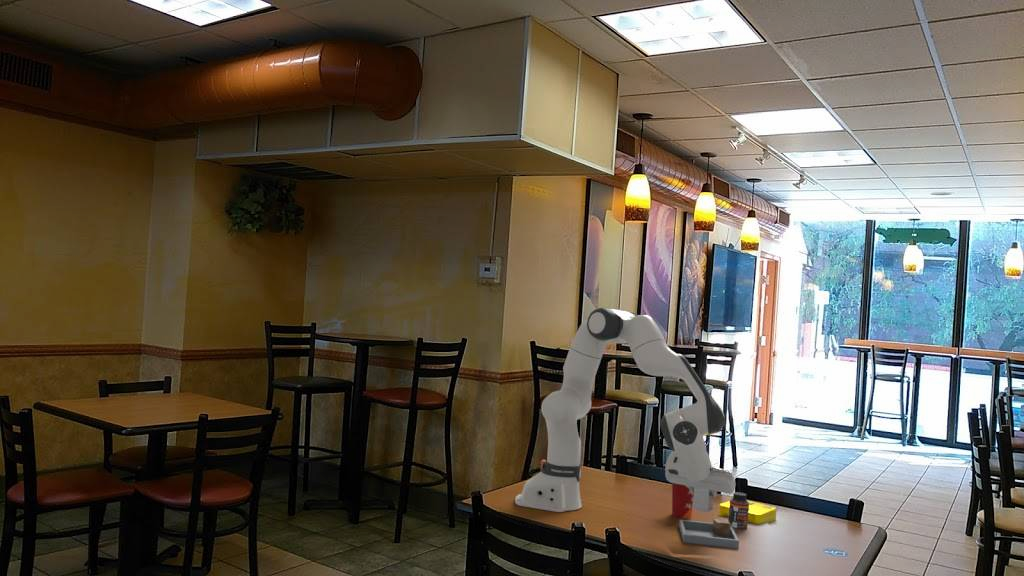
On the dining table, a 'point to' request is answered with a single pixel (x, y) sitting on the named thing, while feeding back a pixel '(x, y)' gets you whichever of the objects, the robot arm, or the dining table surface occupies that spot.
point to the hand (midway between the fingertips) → (704, 492)
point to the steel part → (702, 500)
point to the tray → (706, 534)
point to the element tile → (753, 512)
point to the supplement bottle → (738, 511)
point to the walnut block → (721, 527)
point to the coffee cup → (682, 501)
